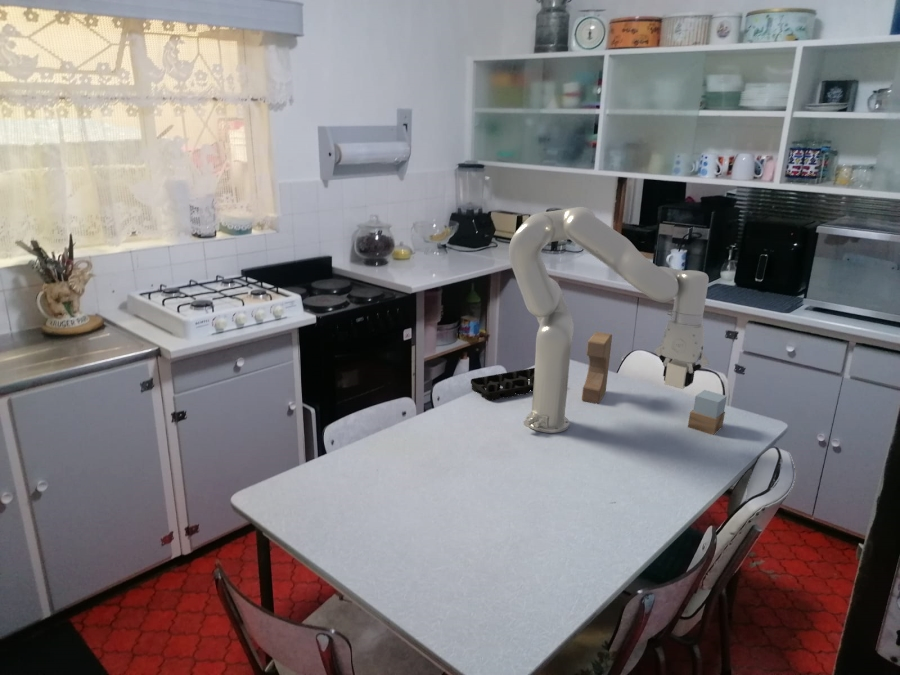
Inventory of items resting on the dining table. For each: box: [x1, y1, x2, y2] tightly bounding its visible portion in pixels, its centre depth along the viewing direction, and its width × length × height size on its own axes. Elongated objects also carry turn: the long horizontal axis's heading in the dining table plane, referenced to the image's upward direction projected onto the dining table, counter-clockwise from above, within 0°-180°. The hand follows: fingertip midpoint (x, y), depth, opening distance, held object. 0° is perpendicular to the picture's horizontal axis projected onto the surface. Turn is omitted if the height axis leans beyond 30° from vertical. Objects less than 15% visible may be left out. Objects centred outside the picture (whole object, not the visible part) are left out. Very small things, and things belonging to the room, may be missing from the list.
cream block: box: [664, 359, 688, 390], centre depth 175 cm, size 5×5×6 cm
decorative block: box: [581, 331, 613, 405], centre depth 206 cm, size 11×6×20 cm, turn 155°
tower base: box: [687, 408, 726, 436], centre depth 189 cm, size 8×8×5 cm
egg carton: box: [470, 367, 535, 401], centre depth 213 cm, size 18×30×4 cm, turn 130°
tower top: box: [692, 389, 728, 419], centre depth 188 cm, size 6×6×5 cm
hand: (677, 381), depth 176 cm, fingers closed on cream block, 5 cm apart
